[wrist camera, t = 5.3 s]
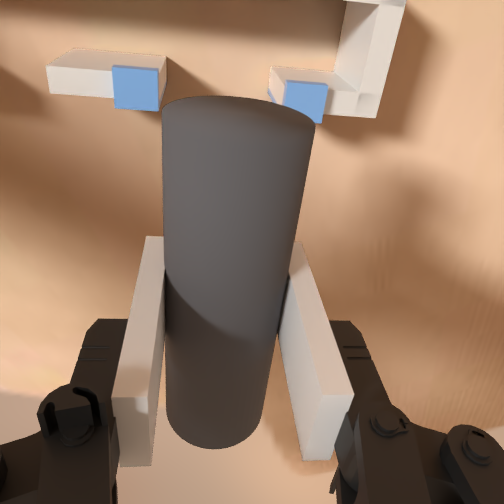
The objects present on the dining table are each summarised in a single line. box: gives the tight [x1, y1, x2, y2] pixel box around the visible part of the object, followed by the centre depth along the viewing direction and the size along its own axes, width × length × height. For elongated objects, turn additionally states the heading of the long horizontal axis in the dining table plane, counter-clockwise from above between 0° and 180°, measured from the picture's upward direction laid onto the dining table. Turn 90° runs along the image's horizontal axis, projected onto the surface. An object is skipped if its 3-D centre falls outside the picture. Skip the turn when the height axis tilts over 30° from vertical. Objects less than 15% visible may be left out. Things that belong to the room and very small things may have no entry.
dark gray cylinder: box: [162, 96, 316, 449], centre depth 14 cm, size 12×4×4 cm, turn 174°
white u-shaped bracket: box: [46, 0, 407, 123], centre depth 20 cm, size 26×6×6 cm, turn 84°
